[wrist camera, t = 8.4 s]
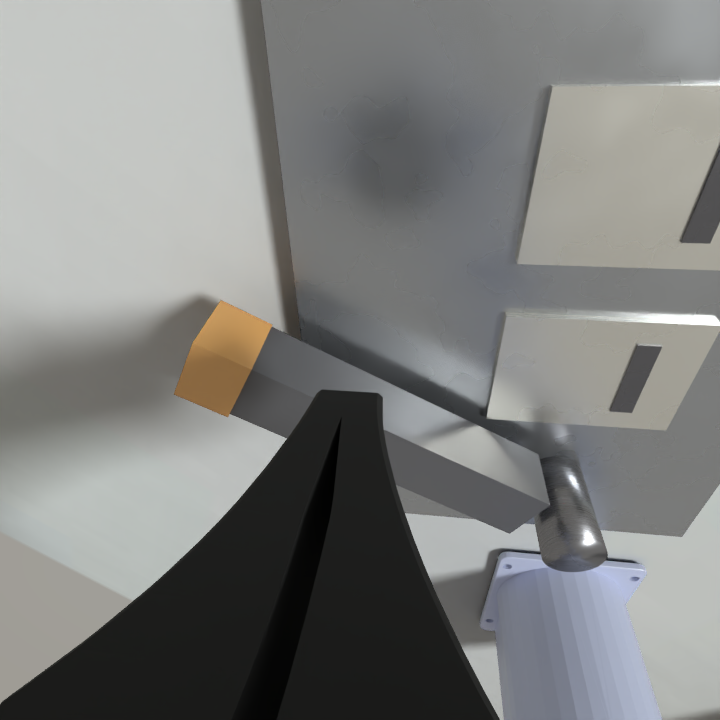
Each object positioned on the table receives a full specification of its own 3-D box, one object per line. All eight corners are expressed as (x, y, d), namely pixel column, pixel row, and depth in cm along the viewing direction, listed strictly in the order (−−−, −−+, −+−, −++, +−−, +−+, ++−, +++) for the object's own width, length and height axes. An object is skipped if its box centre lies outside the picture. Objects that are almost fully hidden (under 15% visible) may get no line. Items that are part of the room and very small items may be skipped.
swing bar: (540, 453, 20) (552, 506, 18) (500, 484, 21) (508, 537, 19) (220, 300, 17) (192, 342, 15) (201, 349, 18) (173, 394, 16)
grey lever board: (673, 519, 24) (720, 621, 20) (324, 490, 26) (306, 579, 22) (1055, -55, 11) (1420, -78, 7) (267, -29, 12) (193, -37, 9)
